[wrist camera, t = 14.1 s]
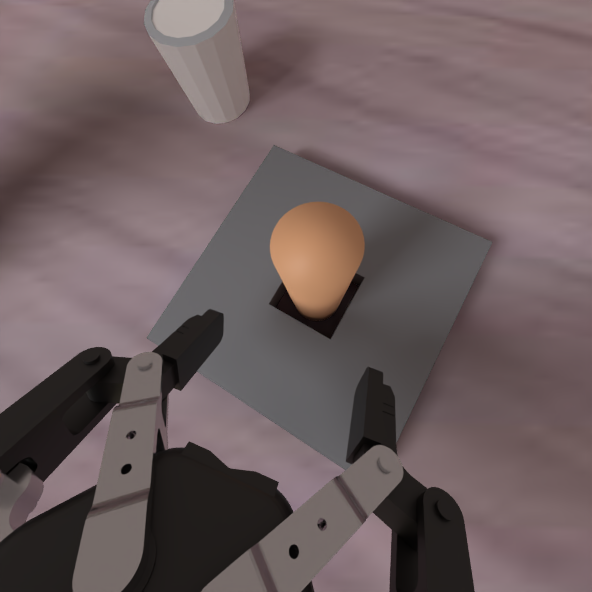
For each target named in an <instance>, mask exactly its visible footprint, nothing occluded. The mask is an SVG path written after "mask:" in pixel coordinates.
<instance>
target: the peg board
mask: <svg viewBox="0 0 592 592" xmlns="http://www.w3.org/2000/svg"><path fill="white" fill-rule="evenodd" d="M309 202H327V203H331V204H335V205H337V206H340V207H341V208H343V209H345V210H346V211H348V212H349V213H350V214H351V215H352V216H353V217H354V218H355V219H356V220H357V222H358V224H359V225H360V227H361V229H362V232H363V236H364V242H365V249H364V255H363V259H362V261H361V263H360V266H359V268H358V270H357V271H356V273H355V275H354V277H353V279H352V281H351V282H352V283H354V284H356V285H358V286H359V287H358V289H357V290H356V292H355V294H354V296H353V298H352V300H351V301H350V303H349V305H348V307H347V309H346V310H345V312H344V314H343V316H342V318H341V320H340V321H339V323H338V325H337V327H336V329H335V330H334V332H333V334H332V336H331V338H330V339H329V338H327V337H325V336H324V335H322V334H320V333H318V332H317V331H315V330H313V329H311V328H310V327H308V326H306V325H304V324H303V323H301V322H299V321H297V320H296V319H294V318H292V317H290V316H289V315H287V314H285V313H284V312H282V311H280V310H278V309H277V308H275V307H276V306H277V304H278V302H279V301H280V299H281V297H282V296H283V294H284V292H285V291H286V287H285V285H284V283H283V281H282V279H281V277H280V275H279V274H278V272H277V270H276V268H275V266H274V264H273V261H272V258H271V254H270V240H271V235H272V232H273V230H274V228H275V226H276V224H277V223H278V221H279V220H280V219H281V218H282V217H283V216H284V215H285V214H286V213H287V212H288V211H290V210H291V209H293V208H295V207H297V206H299V205H302V204H305V203H309ZM491 244H492V242H491V241H489V240H487V239H485V238H482V237H480V236H478V235H476V234H473V233H471V232H469V231H467V230H464V229H462V228H460V227H458V226H455V225H453V224H451V223H449V222H446V221H444V220H442V219H440V218H437V217H435V216H433V215H430V214H428V213H426V212H424V211H421V210H419V209H417V208H415V207H412V206H410V205H408V204H406V203H403V202H401V201H399V200H397V199H394V198H392V197H390V196H388V195H385V194H383V193H381V192H379V191H376V190H374V189H372V188H370V187H367V186H365V185H363V184H361V183H358V182H356V181H354V180H352V179H349V178H347V177H345V176H343V175H340V174H338V173H336V172H334V171H331V170H329V169H327V168H325V167H322V166H320V165H318V164H316V163H313V162H311V161H309V160H307V159H304V158H302V157H300V156H298V155H295V154H293V153H291V152H289V151H286V150H284V149H282V148H280V147H277V146H275V145H274V146H273V147H272V149H271V150H270V152H269V153H268V155H267V156H266V158H265V159H264V161H263V163H262V164H261V166H260V167H259V169H258V170H257V172H256V173H255V175H254V176H253V178H252V179H251V181H250V182H249V184H248V185H247V187H246V188H245V190H244V191H243V193H242V194H241V196H240V197H239V199H238V200H237V202H236V203H235V205H234V206H233V208H232V209H231V211H230V212H229V214H228V215H227V217H226V218H225V220H224V221H223V223H222V224H221V226H220V228H219V229H218V231H217V232H216V234H215V235H214V237H213V238H212V240H211V241H210V243H209V244H208V246H207V247H206V249H205V250H204V252H203V253H202V255H201V256H200V258H199V259H198V261H197V262H196V264H195V265H194V267H193V268H192V270H191V271H190V273H189V274H188V276H187V277H186V279H185V280H184V282H183V283H182V285H181V286H180V288H179V289H178V291H177V293H176V294H175V296H174V297H173V299H172V300H171V302H170V303H169V305H168V306H167V308H166V309H165V311H164V312H163V314H162V315H161V317H160V318H159V320H158V321H157V323H156V324H155V326H154V327H153V329H152V330H151V332H150V333H149V335H148V336H147V339H149V340H150V341H152V342H153V343H155V344H156V345H158V346H159V345H160V344H161V343H162V342H163V341H164V340H166V339H167V338H168V337H169V336H170V335H171V334H172V333H173V332H175V331H176V329H178V328H179V327H180V326H181V325H182V324H183V323H184V322H185V321H186V320H187V319H189V318H191V317H193V316H195V315H201V316H202V315H203V314H204V313H205V312H206V311H207V310H209V309H212V310H215V311H218V312H221V313H223V314H224V333H223V337H222V340H221V342H220V343H219V345H218V346H217V347H216V348H215V350H214V351H213V352H212V353H211V355H210V356H209V357H208V358H207V359H206V361H205V362H204V363H203V364H202V366H201V367H200V368H199V369H198V370H197V372H199V373H200V374H202V375H203V376H205V377H206V378H208V379H209V380H211V381H212V382H214V383H215V384H217V385H218V386H220V387H221V388H223V389H224V390H226V391H227V392H229V393H230V394H232V395H233V396H235V397H236V398H238V399H239V400H241V401H242V402H244V403H245V404H247V405H248V406H250V407H251V408H253V409H254V410H256V411H257V412H259V413H260V414H262V415H263V416H265V417H266V418H268V419H269V420H271V421H272V422H274V423H275V424H277V425H278V426H280V427H281V428H283V429H284V430H286V431H287V432H289V433H290V434H292V435H293V436H295V437H296V438H298V439H300V440H301V441H303V442H304V443H306V444H307V445H309V446H310V447H312V448H313V449H315V450H316V451H318V452H319V453H321V454H322V455H324V456H325V457H327V458H328V459H330V460H331V461H333V462H334V463H336V464H337V465H339V466H340V467H342V468H343V469H345V470H347V469H348V468H349V467H350V466H351V465H352V464H350V463H347V462H346V455H347V447H348V440H349V432H350V425H351V417H352V409H353V402H354V395H355V391H356V388H357V385H358V383H359V381H360V379H361V377H362V376H363V374H364V372H365V370H366V368H367V367H370V368H373V369H376V370H379V371H381V372H383V384H385V385H388V386H391V389H392V391H393V393H394V396H395V414H396V416H395V418H396V443H397V441H398V439H399V436H400V434H401V432H402V430H403V428H404V426H405V424H406V422H407V420H408V418H409V416H410V413H411V411H412V409H413V407H414V405H415V403H416V401H417V399H418V397H419V395H420V393H421V390H422V388H423V386H424V384H425V382H426V380H427V378H428V376H429V374H430V372H431V370H432V367H433V365H434V363H435V361H436V359H437V357H438V355H439V353H440V351H441V349H442V347H443V344H444V342H445V340H446V338H447V336H448V334H449V332H450V330H451V328H452V326H453V324H454V321H455V319H456V317H457V315H458V313H459V311H460V309H461V307H462V305H463V303H464V300H465V298H466V296H467V294H468V292H469V290H470V288H471V286H472V284H473V282H474V280H475V277H476V275H477V273H478V271H479V269H480V267H481V265H482V263H483V261H484V259H485V257H486V254H487V252H488V250H489V248H490V246H491Z"/></svg>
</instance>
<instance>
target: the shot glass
mask: <svg viewBox="0 0 592 592" xmlns="http://www.w3.org/2000/svg"><path fill="white" fill-rule="evenodd" d="M144 25H145V27H146V30H147V32H148V34H149V36H150V38H151V39H152V41H153V43H154V44H155V46H156V47H157V49H158V51H159V52H160V54H161V55H162V57H163V59H164V60H165V62H166V63H167V65H168V67H169V68H170V70H171V71H172V73H173V75H174V76H175V78H176V79H177V81H178V83H179V84H180V86H181V87H182V89H183V91H184V92H185V94H186V95H187V97H188V99H189V100H190V102H191V103H192V105H193V107H194V108H195V110H196V111H197V113H198V115H199V116H200V117H201V118H203V119H204V120H205V121H207V122H211V123H215V124H220V123H228V122H230V121H232V120H235V119H237V118H238V117H239V116H240V115H241V114H242V113H243V112H245V110H246V108H247V106H248V104H249V102H250V92H249V86H248V80H247V74H246V69H245V63H244V57H243V51H242V45H241V39H240V34H239V28H238V22H237V16H236V10H235V4H234V0H151V1H150V3H149V4H148V6H147V8H146V9H145V17H144Z"/></svg>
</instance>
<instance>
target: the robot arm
mask: <svg viewBox="0 0 592 592" xmlns="http://www.w3.org/2000/svg"><path fill="white" fill-rule="evenodd" d="M223 333H224V314H223V313H221V312H218V311H215V310H212V309H209V310H207V311H206V312H205V313H204V314H203V315H202V316H201V315H195V316H193V317H191V318H189V319H187V320H186V321H185V322H184V323H183V324H182V325H181V326H180V327H179V328H178V329H176V331H175V332H173V333H172V334H171V335H170V336H169V337H168V338H167V339H166V340H164V341H163V342H162V343H161V344H160V345H159V346H158V347H157V348H156V349H155V350H153V351H152V352H145V353H141V354H138V355H136V356H135V357H133V358H125V357H113V356H112V355H111V352H110V351H109V350H108V349H106V348H103V347H95V348H90V349H87V350H85V351H83V352H81V353H79V354H78V355H77V356H75V357H74V358H73V359H71V360H70V361H69V362H67V363H66V364H65V365H64V366H62V367H61V368H60V369H58V370H57V371H56V372H54V373H53V374H52V375H50V376H49V377H48V378H46V379H45V380H44V381H43V382H41V383H40V384H39V385H37V386H36V387H35V388H33V389H32V390H31V391H29V392H28V393H27V394H26V395H24V396H23V397H22V398H20V399H19V400H18V401H16V402H15V403H14V404H12V405H11V406H10V407H8V408H7V409H6V410H5V411H3V412H2V413H1V414H0V592H314V588H313V584H312V579H313V578H314V577H315V576H316V575H317V574H318V573H319V572H320V570H321V569H322V568H323V567H324V566H325V565H326V564H327V563H328V562H329V561H330V560H331V558H332V557H333V556H334V555H335V554H336V553H337V552H338V551H339V550H340V549H341V547H342V546H343V545H344V544H345V543H346V542H347V541H348V540H349V539H350V538H351V537H352V535H353V534H354V533H355V532H356V531H357V530H358V529H359V528H360V527H361V526H362V524H363V523H364V522H365V521H366V519H367V518H368V516H369V515H370V514H371V513H372V512H373V513H374V514H375V515H376V516H378V517H379V518H380V519H381V520H382V521H383V522H384V523H385V524H386V525H387V526H388V527H390V528H391V529H392V542H391V566H390V591H389V592H475V591H474V585H473V578H472V571H471V564H470V558H469V551H468V544H467V537H466V531H465V524H464V518H463V515H462V512H461V510H460V508H459V506H458V504H457V503H456V502H455V500H454V499H453V498H452V497H451V496H450V495H449V494H448V493H447V492H445V491H444V490H442V489H440V488H436V487H431V488H429V489H427V488H426V487H425V486H423V485H422V484H421V483H420V482H418V481H417V480H416V479H415V478H413V477H412V476H411V475H410V474H409V473H408V472H407V471H406V470H405V469H404V468H403V466H402V463H401V461H400V459H399V458H398V456H397V450H396V418H395V416H396V414H395V396H394V393H393V391H392V389H391V386H388V385H385V384H383V372H381V371H379V370H376V369H373V368H370V367H367V368H366V370H365V372H364V374H363V376H362V377H361V379H360V381H359V383H358V385H357V388H356V391H355V395H354V402H353V409H352V417H351V425H350V432H349V440H348V447H347V455H346V462H347V463H350V464H352V465H351V466H350V467H349V468H348V469H347V470H345V471H344V472H343V473H342V474H341V475H339V476H338V477H335V478H334V479H332V480H331V481H330V482H329V483H327V484H326V485H325V486H324V487H323V488H322V489H320V490H319V491H318V492H317V493H316V494H315V495H313V496H312V497H311V498H310V499H309V500H308V501H306V502H305V503H304V504H303V505H302V506H301V507H299V508H298V509H297V510H296V511H295V512H293V510H292V508H291V506H290V504H289V503H288V501H287V500H286V498H285V497H284V496H283V495H282V493H281V492H280V491H278V490H277V486H278V483H279V482H277V481H275V480H273V479H271V478H268V477H266V476H264V475H262V474H260V473H257V472H254V471H246V470H238V469H231V468H228V467H227V466H226V465H225V464H224V463H223V462H222V461H221V460H219V459H218V458H217V457H216V456H215V455H214V454H213V453H212V452H211V451H209V450H207V449H205V448H202V447H200V446H198V445H196V444H194V443H191V442H188V444H187V446H186V447H185V448H171V449H168V433H167V429H168V404H169V393H170V391H171V390H172V389H173V388H175V389H178V390H180V391H181V390H182V389H183V388H184V386H185V385H186V384H187V383H188V382H189V380H190V379H191V378H192V377H193V375H194V374H195V373H196V372H197V370H198V369H199V368H200V367H201V366H202V364H203V363H204V362H205V361H206V359H207V358H208V357H209V356H210V355H211V353H212V352H213V351H214V350H215V348H216V347H217V346H218V345H219V343H220V342H221V340H222V337H223ZM117 403H119V406H116V407H115V408H114V410H113V412H112V417H111V421H110V426H109V431H108V435H107V440H106V445H105V449H104V454H103V459H102V463H101V468H100V473H99V478H98V482H97V485H95V486H93V487H91V488H89V489H87V490H86V491H84V492H82V493H80V494H78V495H76V496H74V497H72V498H70V499H69V500H67V501H65V502H63V503H61V504H59V505H57V506H55V507H53V508H51V509H50V510H48V511H46V512H44V513H42V514H40V515H38V516H36V517H34V518H33V519H31V520H29V521H27V522H26V519H27V517H28V515H29V514H30V513H31V512H32V511H33V510H34V509H35V507H36V505H37V502H38V501H39V499H40V497H41V495H42V493H43V488H44V485H43V482H44V481H45V480H46V479H47V478H48V476H49V475H50V474H51V473H52V472H53V471H54V470H55V469H56V468H57V467H58V466H59V465H60V464H61V463H62V461H63V460H64V459H65V458H66V457H67V456H68V455H69V454H70V453H71V452H72V451H73V450H74V449H75V448H76V446H77V445H78V444H79V443H80V442H81V441H82V440H83V439H84V438H85V437H86V436H87V435H88V434H89V432H90V431H91V430H92V429H93V428H94V427H95V426H96V425H97V424H98V423H99V422H100V421H101V420H102V419H103V417H104V416H105V415H106V414H107V413H108V412H109V411H110V410H111V409H112V408H113V407H114V406H115V405H116V404H117Z"/></svg>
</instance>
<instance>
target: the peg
mask: <svg viewBox="0 0 592 592" xmlns="http://www.w3.org/2000/svg"><path fill="white" fill-rule="evenodd" d="M364 249H365V242H364V236H363V232H362V229H361V227H360V225H359V224H358V222H357V220H356V219H355V218H354V217H353V216H352V215H351V214H350V213H349V212H348V211H346V210H345V209H343V208H341V207H340V206H337V205H335V204H331V203H327V202H309V203H305V204H302V205H299V206H297V207H295V208H293V209H291V210H290V211H288V212H287V213H286V214H285V215H284V216H283V217H282V218H281V219H280V220H279V221H278V223H277V224H276V226H275V228H274V230H273V232H272V235H271V240H270V254H271V258H272V261H273V264H274V266H275V268H276V270H277V272H278V274H279V275H280V277H281V279H282V281H283V283H284V285H285V287H286V289H287V291H288V293H289V295H290V297H291V299H292V301H293V303H294V304H295V306H296V308H297V310H298V312H299V313H300V314H301V315H302V316H303V317H304V318H306V319H308V320H311V321H323V320H326V319H328V318H330V317H331V316H332V315H333V314H334V313H335V312H336V310H337V308H338V306H339V304H340V302H341V300H342V299H343V297H344V295H345V293H346V291H347V289H348V287H349V285H350V283H351V281H352V279H353V277H354V275H355V273H356V271H357V270H358V268H359V266H360V263H361V261H362V259H363V255H364Z"/></svg>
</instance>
